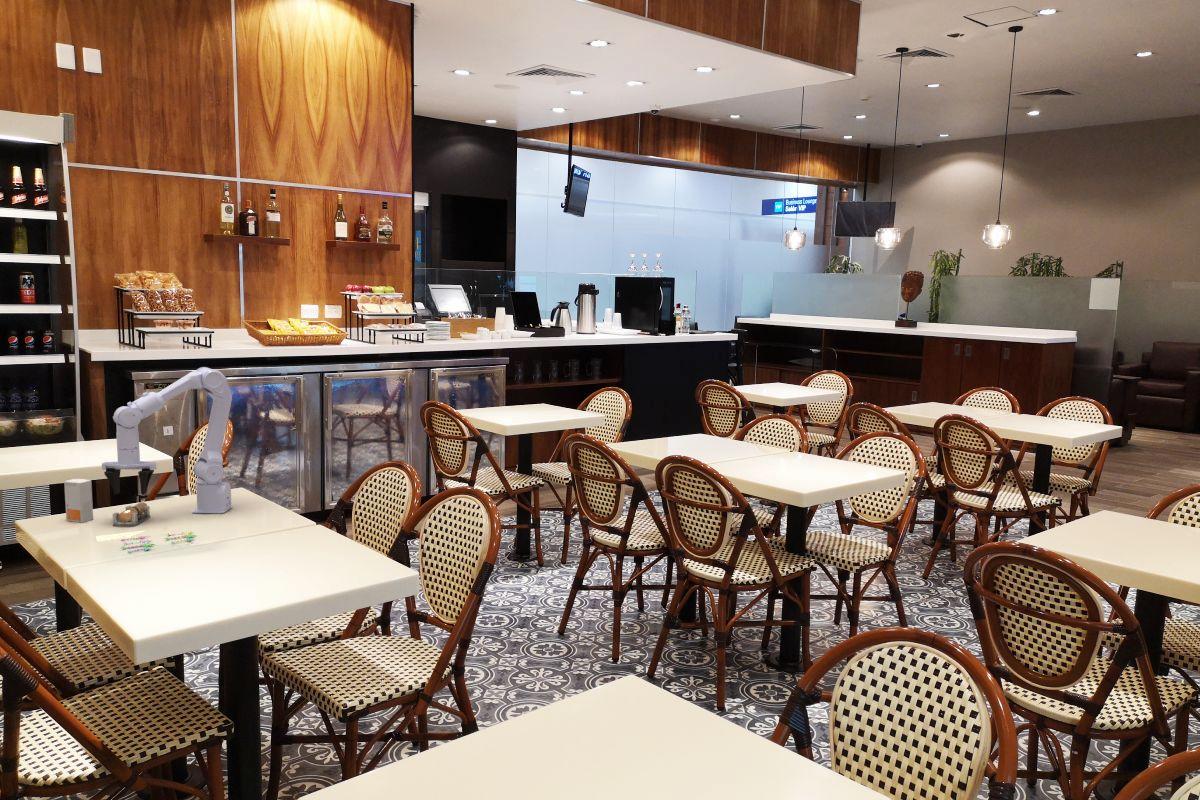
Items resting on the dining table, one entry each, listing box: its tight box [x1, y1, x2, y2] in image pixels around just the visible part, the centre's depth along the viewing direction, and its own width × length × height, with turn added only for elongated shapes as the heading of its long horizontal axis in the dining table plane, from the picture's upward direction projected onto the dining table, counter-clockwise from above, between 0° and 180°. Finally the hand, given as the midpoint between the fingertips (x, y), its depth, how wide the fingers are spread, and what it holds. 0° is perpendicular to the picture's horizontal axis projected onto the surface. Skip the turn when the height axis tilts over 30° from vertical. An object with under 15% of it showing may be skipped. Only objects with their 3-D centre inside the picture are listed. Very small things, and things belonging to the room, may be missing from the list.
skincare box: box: [63, 478, 94, 524], centre depth 263 cm, size 6×4×12 cm
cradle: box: [112, 505, 151, 527], centre depth 263 cm, size 6×10×4 cm, turn 3°
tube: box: [118, 501, 148, 523], centre depth 263 cm, size 12×3×3 cm, turn 3°
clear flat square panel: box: [95, 529, 195, 553], centre depth 244 cm, size 30×30×2 cm
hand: (130, 493), depth 262 cm, fingers open, 7 cm apart
